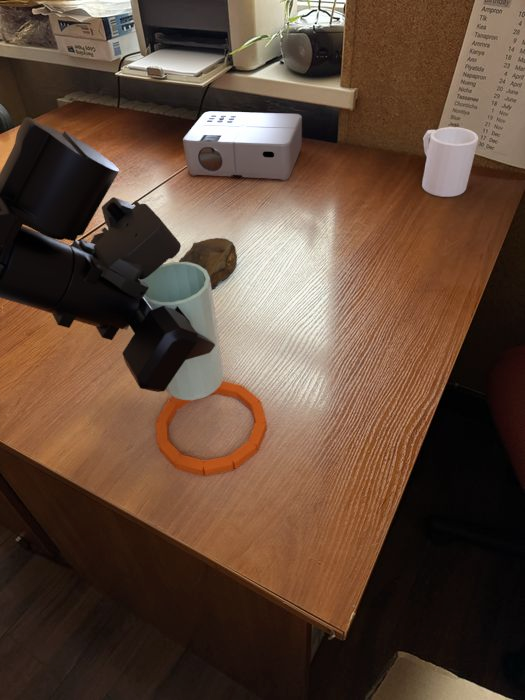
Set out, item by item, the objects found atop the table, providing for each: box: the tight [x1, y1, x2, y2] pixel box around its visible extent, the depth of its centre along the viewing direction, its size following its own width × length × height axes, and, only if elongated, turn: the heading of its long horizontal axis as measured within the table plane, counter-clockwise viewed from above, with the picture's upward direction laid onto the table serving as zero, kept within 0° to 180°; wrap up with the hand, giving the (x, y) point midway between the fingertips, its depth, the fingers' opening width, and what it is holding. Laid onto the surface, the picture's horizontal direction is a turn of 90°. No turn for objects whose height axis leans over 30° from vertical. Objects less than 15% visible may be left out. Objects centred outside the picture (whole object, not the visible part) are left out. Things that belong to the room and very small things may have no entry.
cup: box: [139, 261, 225, 401], centre depth 52 cm, size 7×7×13 cm
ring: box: [155, 380, 268, 477], centre depth 58 cm, size 12×12×1 cm
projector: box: [182, 111, 303, 182], centre depth 106 cm, size 17×22×8 cm
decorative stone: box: [178, 237, 238, 289], centre depth 79 cm, size 10×9×4 cm
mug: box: [421, 126, 479, 198], centre depth 95 cm, size 8×12×10 cm
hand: (196, 328), depth 52 cm, fingers closed on cup, 7 cm apart
